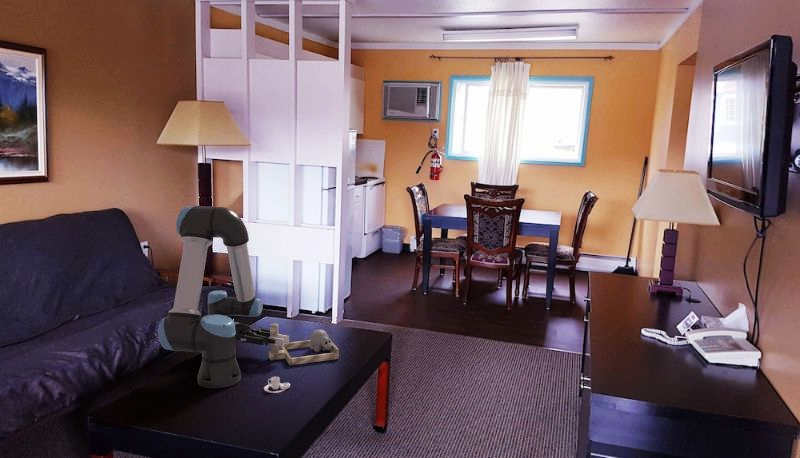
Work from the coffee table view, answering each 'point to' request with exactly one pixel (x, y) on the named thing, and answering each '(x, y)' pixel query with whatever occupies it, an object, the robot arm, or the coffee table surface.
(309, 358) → the pull frame
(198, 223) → the robot arm
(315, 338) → the chubby cartoon animal
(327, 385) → the coffee table surface
